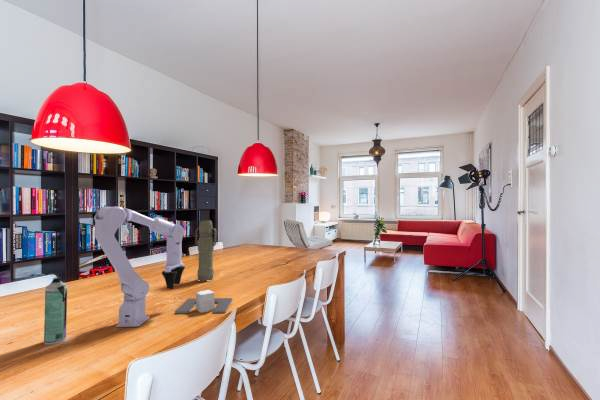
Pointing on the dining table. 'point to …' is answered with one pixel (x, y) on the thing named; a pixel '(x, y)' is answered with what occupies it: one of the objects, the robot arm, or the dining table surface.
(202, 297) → the skincare box
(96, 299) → the dining table surface
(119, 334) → the dining table surface
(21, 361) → the dining table surface
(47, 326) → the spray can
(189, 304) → the carrier plate
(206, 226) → the thermos
